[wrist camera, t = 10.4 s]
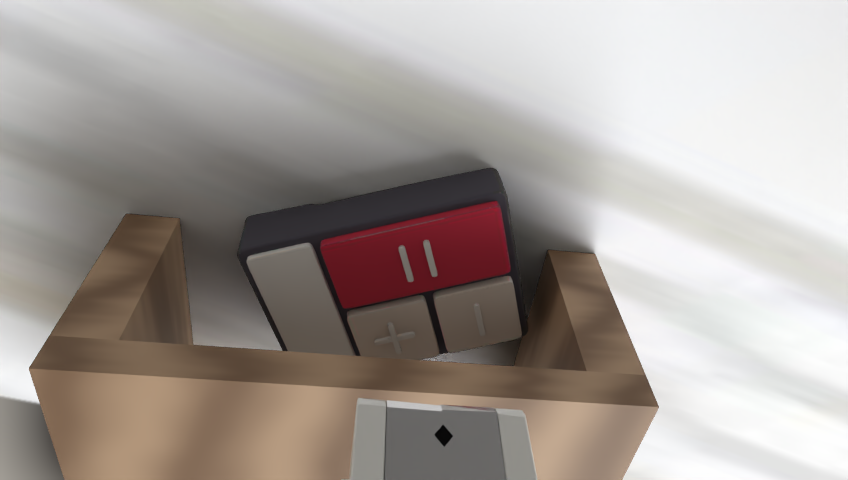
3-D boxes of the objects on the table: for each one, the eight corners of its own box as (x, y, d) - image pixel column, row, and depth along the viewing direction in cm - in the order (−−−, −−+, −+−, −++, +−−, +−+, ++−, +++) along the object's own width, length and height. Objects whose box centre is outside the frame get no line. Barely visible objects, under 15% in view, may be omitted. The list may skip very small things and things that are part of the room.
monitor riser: (594, 253, 40) (658, 407, 30) (536, 421, 49) (570, 580, 39) (126, 213, 37) (28, 368, 27) (156, 399, 46) (92, 564, 36)
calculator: (532, 344, 40) (297, 395, 40) (518, 299, 43) (302, 346, 44) (509, 197, 33) (231, 259, 34) (494, 158, 37) (243, 216, 38)
